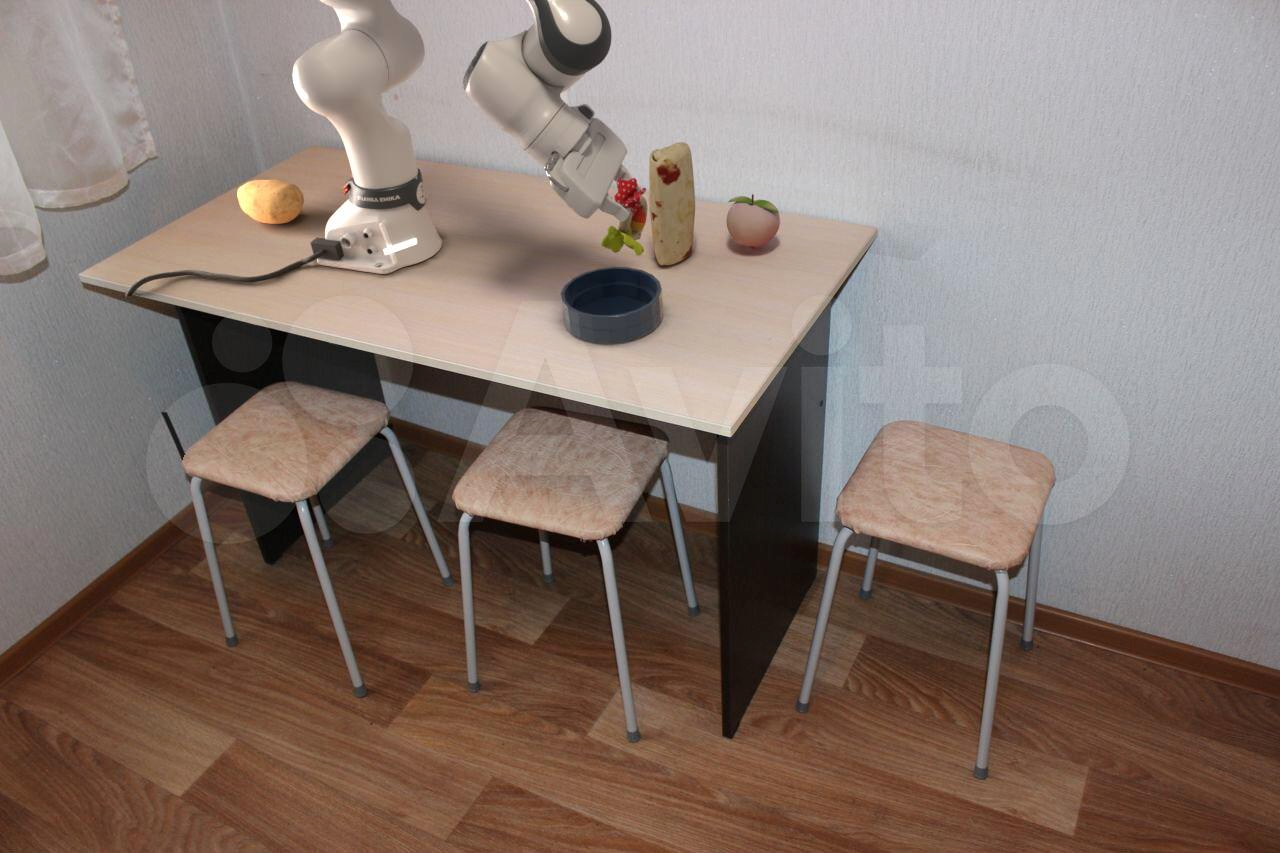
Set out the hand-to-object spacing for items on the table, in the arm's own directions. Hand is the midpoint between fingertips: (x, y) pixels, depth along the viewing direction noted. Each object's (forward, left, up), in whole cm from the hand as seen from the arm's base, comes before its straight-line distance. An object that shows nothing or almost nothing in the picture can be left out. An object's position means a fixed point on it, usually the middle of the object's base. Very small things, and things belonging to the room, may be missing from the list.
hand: (632, 205), depth 152 cm
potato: (-78, +31, -20) cm, 86 cm away
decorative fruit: (+15, +25, -20) cm, 35 cm away
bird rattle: (-1, 0, -7) cm, 7 cm away
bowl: (-4, 0, -20) cm, 20 cm away
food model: (+2, +21, -20) cm, 29 cm away
